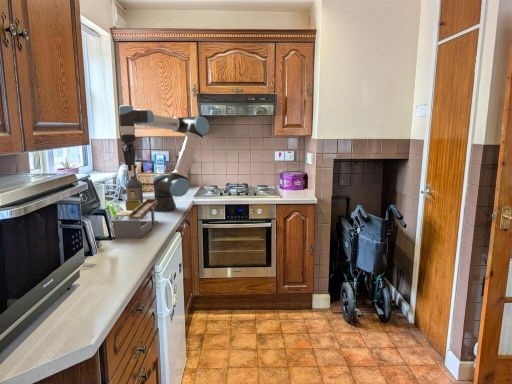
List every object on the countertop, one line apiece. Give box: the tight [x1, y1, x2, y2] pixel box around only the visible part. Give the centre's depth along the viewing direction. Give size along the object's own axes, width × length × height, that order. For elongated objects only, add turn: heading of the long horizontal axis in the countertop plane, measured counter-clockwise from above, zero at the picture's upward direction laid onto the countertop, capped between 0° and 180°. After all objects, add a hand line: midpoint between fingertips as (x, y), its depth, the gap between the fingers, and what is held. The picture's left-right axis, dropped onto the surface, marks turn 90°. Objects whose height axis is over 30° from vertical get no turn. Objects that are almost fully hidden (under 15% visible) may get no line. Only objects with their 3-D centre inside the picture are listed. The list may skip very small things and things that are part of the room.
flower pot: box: [124, 200, 140, 218], centre depth 221 cm, size 9×9×9 cm
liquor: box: [125, 164, 144, 205], centre depth 240 cm, size 9×9×30 cm
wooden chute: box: [115, 198, 158, 219], centre depth 201 cm, size 24×16×5 cm, turn 176°
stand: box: [135, 207, 159, 228], centre depth 201 cm, size 8×12×10 cm, turn 86°
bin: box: [111, 219, 153, 239], centre depth 184 cm, size 15×15×9 cm
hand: (131, 176), depth 204 cm, fingers closed
